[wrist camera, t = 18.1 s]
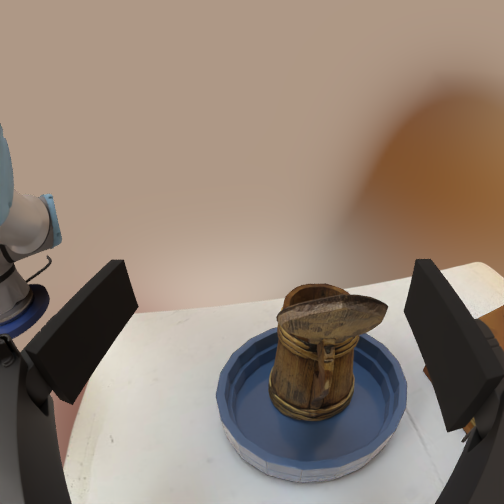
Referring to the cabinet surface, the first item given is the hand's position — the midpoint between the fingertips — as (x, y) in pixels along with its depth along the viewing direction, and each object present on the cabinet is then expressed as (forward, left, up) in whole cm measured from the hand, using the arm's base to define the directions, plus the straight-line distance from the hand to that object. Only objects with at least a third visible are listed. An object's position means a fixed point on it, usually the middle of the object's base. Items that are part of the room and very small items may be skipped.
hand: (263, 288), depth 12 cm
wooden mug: (-3, +6, -18) cm, 20 cm away
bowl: (-3, +6, -19) cm, 20 cm away
